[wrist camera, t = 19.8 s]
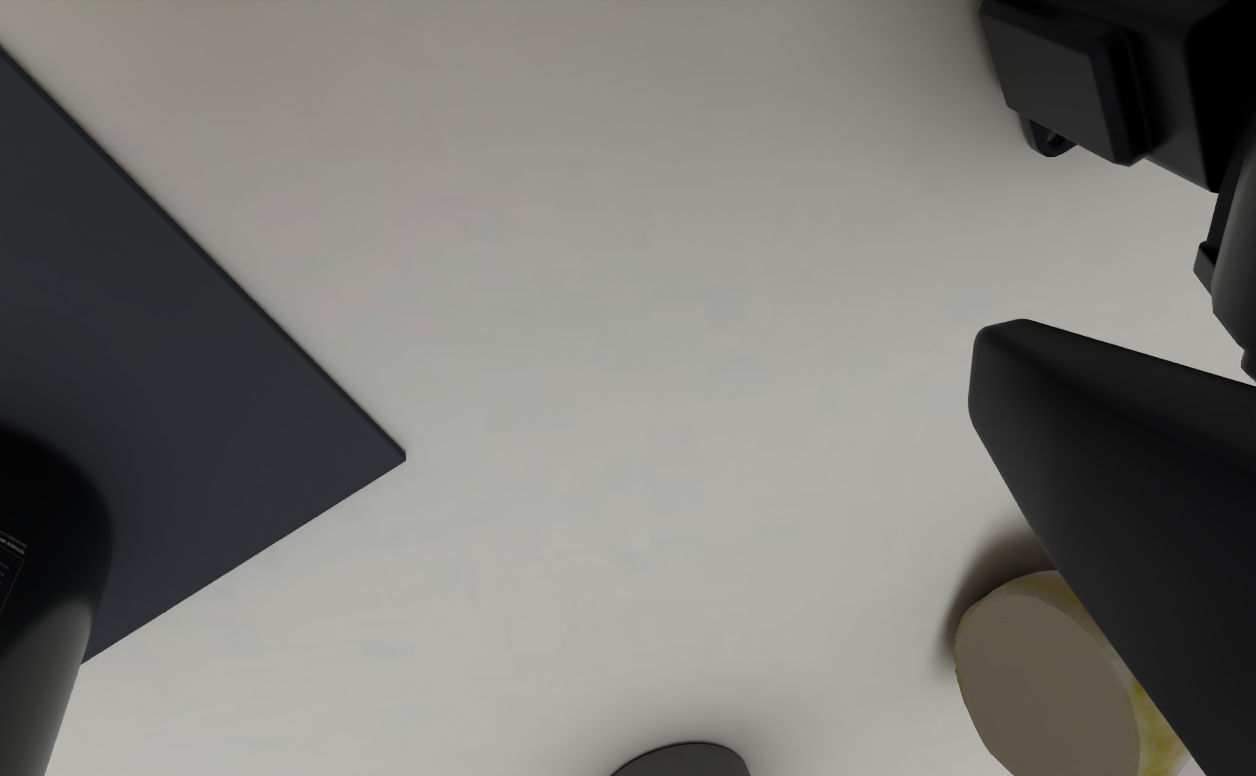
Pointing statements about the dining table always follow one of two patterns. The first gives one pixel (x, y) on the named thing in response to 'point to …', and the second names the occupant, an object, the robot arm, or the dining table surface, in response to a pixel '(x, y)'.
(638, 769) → the bottle
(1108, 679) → the mug
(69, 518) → the supplement bottle
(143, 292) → the mat
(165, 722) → the dining table surface
